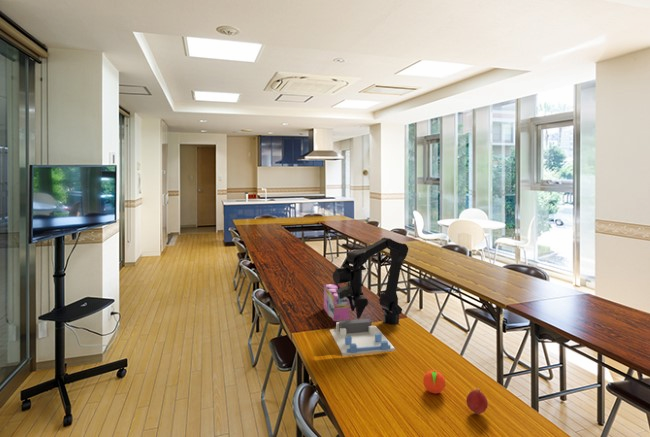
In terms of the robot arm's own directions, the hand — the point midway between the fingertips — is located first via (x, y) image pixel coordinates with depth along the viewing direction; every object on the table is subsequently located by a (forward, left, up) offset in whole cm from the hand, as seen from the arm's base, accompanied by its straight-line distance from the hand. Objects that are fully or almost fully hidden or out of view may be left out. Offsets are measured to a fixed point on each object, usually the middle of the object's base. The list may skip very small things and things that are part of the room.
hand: (355, 314), depth 171 cm
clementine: (-12, +51, -9) cm, 53 cm away
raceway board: (0, +8, -9) cm, 12 cm away
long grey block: (0, 0, -8) cm, 8 cm away
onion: (-19, +64, -9) cm, 67 cm away
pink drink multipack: (+3, -25, -9) cm, 27 cm away
